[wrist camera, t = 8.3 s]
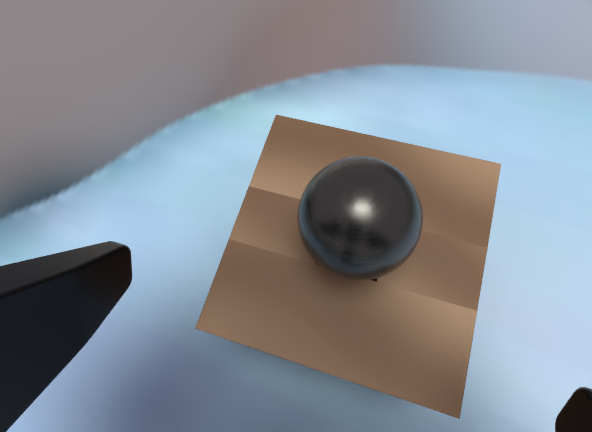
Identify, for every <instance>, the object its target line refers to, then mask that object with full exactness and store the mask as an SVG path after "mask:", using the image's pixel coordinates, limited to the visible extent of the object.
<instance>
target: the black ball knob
mask: <svg viewBox="0 0 592 432" xmlns="http://www.w3.org/2000/svg"><path fill="white" fill-rule="evenodd" d="M297 220H298V230H299V234H300V238H301V241H302V243H303V245H304V247H305V249H306V250H307V252H308V253H309V255H310V256H311V257H312V259H313V260H314V261H315V262H316V263H317V265H319V266H321V267H322V268H323V269H325V270H326V271H328V272H330V273H332V274H334V275H336V276H339V277H341V278H345V279H350V280H372V281H376V280H377V278H379V277H382V276H385V275H387V274H389V273H391V272H392V271H394V270H396V269H397V268H399V267H400V266H401V265H402V264H403V263H404V262H405V261H406V260H407V259H408V258H409V257H410V256H411V254H412V253H413V251H414V250H415V248H416V246H417V244H418V241H419V239H420V236H421V232H422V226H423V210H422V205H421V201H420V198H419V196H418V193H417V191H416V189H415V187H414V186H413V184H412V182H411V181H410V180H409V179H408V178H407V176H406V175H404V174H403V173H402V172H401V171H400V170H399V169H397V168H396V167H395V166H393V165H391V164H389V163H387V162H385V161H383V160H380V159H376V158H372V157H364V156H357V157H349V158H344V159H341V160H338V161H335V162H333V163H331V164H329V165H327V166H326V167H324V168H323V169H322V170H320V171H319V172H318V173H317V174H316V175H315V176H314V177H313V178H312V179H311V180H310V182H309V183H308V184H307V186H306V188H305V190H304V191H303V194H302V196H301V199H300V203H299V206H298V214H297Z"/></svg>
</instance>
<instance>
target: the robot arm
mask: <svg viewBox="0 0 592 432" xmlns="http://www.w3.org/2000/svg"><path fill="white" fill-rule="evenodd" d="M131 281H132V264H131V251H130V249H129V247H128V246H126V245H123V244H120V243H117V242H113V241H109V242H104V243H100V244H95V245H91V246H87V247H82V248H78V249H73V250H69V251H65V252H60V253H56V254H52V255H47V256H43V257H39V258H34V259H30V260H25V261H21V262H17V263H12V264H8V265H4V266H0V432H6V431H7V430H8V429H9V428H10V427H11V426H12V425H13V423H14V422H15V421H16V420H17V419H18V418H19V417H20V416H21V415H22V414H23V413H24V411H25V410H26V409H27V408H28V407H29V406H30V405H31V404H32V403H33V402H34V400H35V399H36V398H37V397H38V396H39V395H40V394H41V393H42V392H43V391H44V390H45V388H46V387H47V386H48V385H49V384H50V383H51V382H52V381H53V380H54V379H55V377H56V376H57V375H58V374H59V373H60V372H61V371H62V370H63V369H64V368H65V367H66V365H67V364H68V363H69V362H70V361H71V360H72V359H73V358H74V357H75V356H76V354H77V353H78V352H79V351H80V350H81V349H82V348H83V346H84V345H85V344H86V343H87V342H88V340H89V339H90V338H91V337H92V335H93V334H94V333H95V332H96V330H97V329H98V328H99V326H100V325H101V324H102V322H103V321H104V320H105V318H106V317H107V316H108V314H109V313H110V312H111V310H112V309H113V308H114V306H115V305H116V304H117V302H118V301H119V300H120V298H121V297H122V296H123V294H124V293H125V292H126V290H127V289H128V287H129V286H130V284H131ZM555 432H592V389H590V388H586V387H580V388H578V389H577V390H576V391H575V392H574V393H573V395H572V396H571V397H570V399H569V400H568V402H567V403H566V404H565V406H564V407H563V409H562V410H561V411H560V413H559V414H558V416H557V419H556V423H555Z"/></svg>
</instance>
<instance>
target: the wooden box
mask: <svg viewBox="0 0 592 432" xmlns="http://www.w3.org/2000/svg"><path fill="white" fill-rule="evenodd" d="M357 156H364V157H372V158H376V159H380V160H383V161H385V162H387V163H389V164H391V165H393V166H395V167H396V168H397V169H399V170H400V171H401V172H402V173H403V174H404V175H406V176H407V178H408V179H409V180H410V181H411V182H412V184H413V186H414V187H415V189H416V191H417V193H418V196H419V198H420V201H421V205H422V210H423V226H422V232H421V236H420V239H419V241H418V244H417V246H416V248H415V250H414V251H413V253H412V254H411V256H410V257H409V258H408V259H407V260H406V261H405V262H404V263H403V264H402V265H401V266H400V267H399V268H397V269H396V270H394V271H392V272H391V273H389V274H387V275H385V276H382V277H379V278H377V280H376V281H372V280H350V279H345V278H341V277H339V276H336V275H334V274H332V273H330V272H328V271H326V270H325V269H323V268H322V267H321V266H319V265H317V263H316V262H315V261H314V260H313V259H312V257H311V256H310V255H309V253H308V252H307V250H306V249H305V247H304V245H303V243H302V241H301V238H300V234H299V230H298V220H297V214H298V206H299V203H300V199H301V196H302V194H303V191H304V190H305V188H306V186H307V184H308V183H309V182H310V180H311V179H312V178H313V177H314V176H315V175H316V174H317V173H318V172H319V171H320V170H322V169H323V168H324V167H326V166H327V165H329V164H331V163H333V162H335V161H338V160H341V159H344V158H349V157H357ZM500 167H501V164H499V163H494V162H490V161H485V160H480V159H476V158H471V157H467V156H462V155H458V154H453V153H449V152H444V151H439V150H435V149H430V148H426V147H421V146H417V145H412V144H407V143H403V142H398V141H394V140H389V139H385V138H380V137H375V136H371V135H366V134H362V133H357V132H353V131H348V130H343V129H339V128H334V127H330V126H325V125H321V124H316V123H311V122H307V121H302V120H298V119H293V118H289V117H284V116H280V115H276V116H275V119H274V121H273V124H272V127H271V129H270V132H269V134H268V137H267V140H266V142H265V145H264V148H263V150H262V153H261V156H260V158H259V161H258V164H257V166H256V169H255V172H254V174H253V177H252V180H251V182H250V185H249V187H248V190H247V193H246V195H245V198H244V201H243V203H242V206H241V209H240V211H239V214H238V217H237V219H236V222H235V225H234V227H233V230H232V232H231V235H230V238H229V240H228V243H227V246H226V248H225V251H224V254H223V256H222V259H221V262H220V264H219V267H218V270H217V272H216V275H215V278H214V280H213V283H212V285H211V288H210V291H209V293H208V296H207V299H206V301H205V304H204V307H203V309H202V312H201V315H200V317H199V320H198V323H197V325H196V328H195V329H198V330H201V331H204V332H207V333H210V334H213V335H216V336H219V337H222V338H225V339H228V340H231V341H233V342H236V343H239V344H242V345H245V346H248V347H251V348H254V349H257V350H260V351H263V352H266V353H269V354H272V355H274V356H277V357H280V358H283V359H286V360H289V361H292V362H295V363H298V364H301V365H304V366H307V367H310V368H313V369H315V370H318V371H321V372H324V373H327V374H330V375H333V376H336V377H339V378H342V379H345V380H348V381H351V382H354V383H356V384H359V385H362V386H365V387H368V388H371V389H374V390H377V391H380V392H383V393H386V394H389V395H392V396H395V397H397V398H400V399H403V400H406V401H409V402H412V403H415V404H418V405H421V406H424V407H427V408H430V409H433V410H436V411H438V412H441V413H444V414H447V415H450V416H453V417H456V418H459V419H460V412H461V406H462V400H463V394H464V388H465V382H466V376H467V370H468V363H469V357H470V351H471V345H472V339H473V333H474V327H475V320H476V314H477V308H478V302H479V296H480V290H481V284H482V278H483V271H484V265H485V259H486V253H487V247H488V241H489V235H490V229H491V222H492V216H493V210H494V204H495V198H496V192H497V186H498V180H499V173H500Z"/></svg>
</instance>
